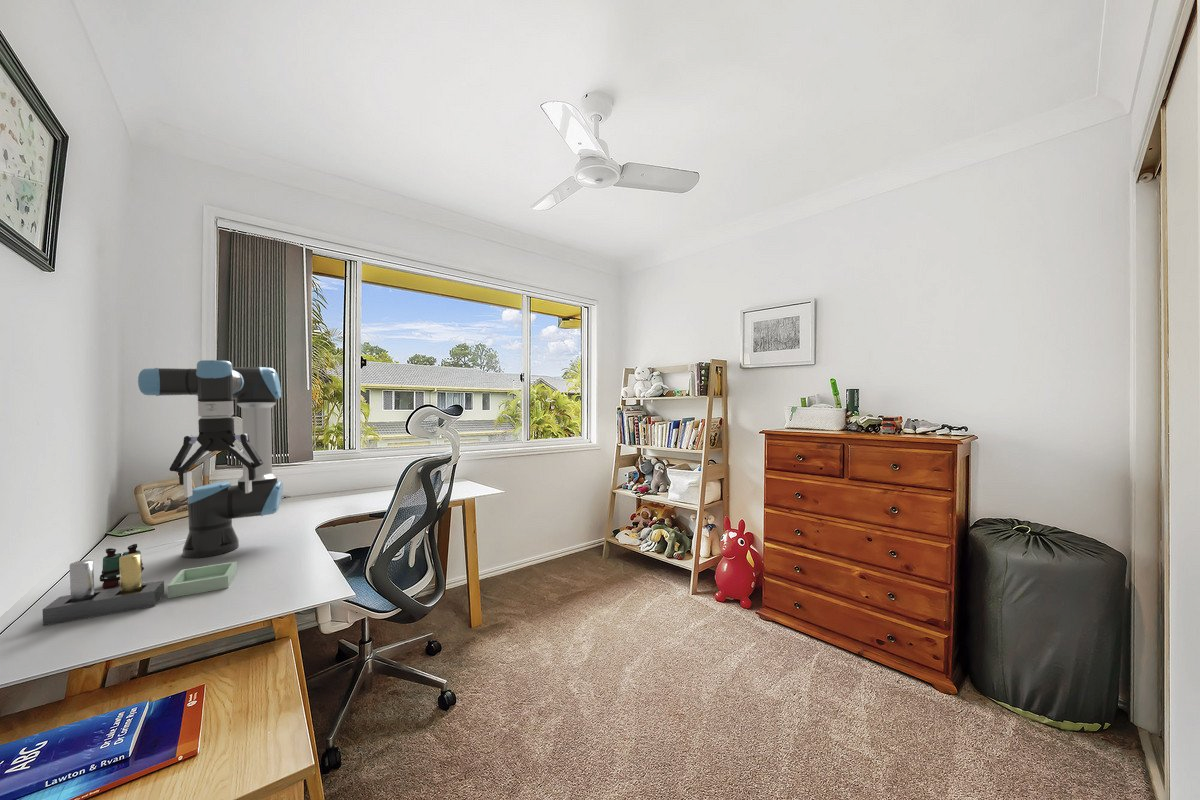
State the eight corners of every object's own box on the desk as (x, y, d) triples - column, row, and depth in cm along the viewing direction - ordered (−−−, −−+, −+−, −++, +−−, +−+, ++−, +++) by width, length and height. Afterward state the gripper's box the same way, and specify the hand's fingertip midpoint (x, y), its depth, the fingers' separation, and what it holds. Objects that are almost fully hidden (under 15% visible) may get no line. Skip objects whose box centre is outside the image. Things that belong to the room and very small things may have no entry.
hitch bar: (60, 612, 119) (59, 596, 119) (164, 594, 129) (164, 580, 129) (43, 625, 112) (42, 609, 112) (154, 606, 122) (154, 590, 122)
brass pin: (124, 603, 124) (122, 555, 123) (144, 600, 125) (143, 552, 125) (118, 610, 120) (116, 559, 120) (139, 606, 122) (137, 556, 122)
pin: (76, 612, 119) (74, 561, 119) (98, 608, 121) (96, 558, 121) (68, 618, 116) (66, 566, 115) (90, 614, 118) (89, 563, 117)
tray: (181, 581, 138) (181, 569, 138) (236, 572, 144) (236, 561, 144) (167, 598, 127) (167, 585, 127) (228, 587, 133) (228, 575, 133)
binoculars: (98, 559, 129) (100, 547, 136) (99, 596, 130) (101, 582, 137) (143, 551, 135) (143, 540, 142) (144, 586, 136) (144, 573, 144)
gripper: (150, 419, 120) (154, 501, 121) (265, 416, 128) (268, 493, 129) (166, 417, 127) (169, 495, 128) (274, 414, 135) (276, 487, 136)
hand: (219, 494), depth 128 cm, fingers open, 13 cm apart
